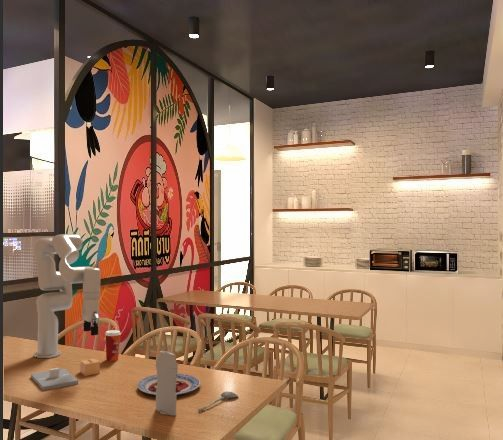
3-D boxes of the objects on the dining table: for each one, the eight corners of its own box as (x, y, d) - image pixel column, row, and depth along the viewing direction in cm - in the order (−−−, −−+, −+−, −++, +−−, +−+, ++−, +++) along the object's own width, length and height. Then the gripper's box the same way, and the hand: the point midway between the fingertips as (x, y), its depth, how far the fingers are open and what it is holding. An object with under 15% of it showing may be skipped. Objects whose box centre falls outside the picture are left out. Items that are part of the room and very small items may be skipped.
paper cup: (117, 362, 229) (118, 333, 229) (102, 361, 229) (102, 333, 229) (122, 357, 236) (122, 329, 237) (107, 357, 237) (107, 329, 237)
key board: (30, 377, 204) (31, 365, 204) (64, 371, 212) (64, 360, 212) (42, 390, 188) (43, 378, 188) (78, 383, 197) (78, 372, 197)
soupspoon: (241, 399, 186) (228, 396, 189) (241, 390, 186) (228, 388, 190) (206, 415, 168) (192, 411, 171) (206, 405, 168) (192, 402, 171)
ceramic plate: (188, 402, 179) (188, 395, 179) (126, 396, 184) (126, 389, 184) (207, 381, 204) (207, 374, 204) (152, 376, 209) (152, 369, 209)
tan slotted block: (80, 372, 212) (80, 360, 212) (94, 369, 216) (94, 357, 216) (84, 375, 207) (85, 363, 207) (99, 373, 211) (99, 361, 211)
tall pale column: (180, 414, 167) (181, 352, 168) (172, 417, 164) (173, 355, 164) (159, 407, 173) (160, 347, 174) (151, 410, 170) (152, 350, 170)
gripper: (77, 293, 217) (76, 330, 216) (89, 298, 203) (88, 337, 203) (93, 292, 221) (92, 328, 221) (106, 297, 207) (105, 335, 207)
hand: (90, 333), depth 212 cm, fingers open, 9 cm apart
